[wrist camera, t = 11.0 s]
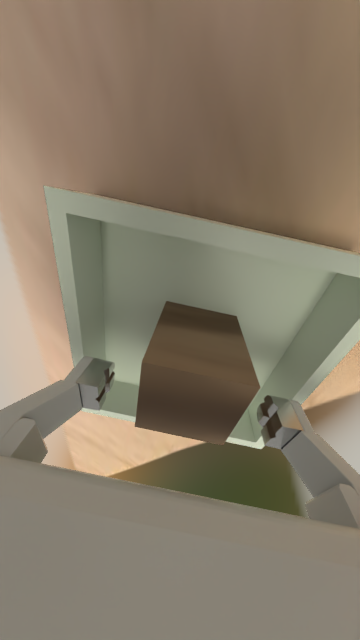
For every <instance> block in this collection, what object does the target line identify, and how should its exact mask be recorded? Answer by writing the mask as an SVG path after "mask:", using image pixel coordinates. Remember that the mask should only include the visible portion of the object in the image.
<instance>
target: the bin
mask: <svg viewBox="0 0 360 640" xmlns="http://www.w3.org/2000/svg"><path fill="white" fill-rule="evenodd" d="M43 187H44V193H45V198H46V204H47V210H48V216H49V222H50V228H51V234H52V240H53V246H54V252H55V258H56V264H57V270H58V275H59V281H60V287H61V293H62V299H63V305H64V311H65V317H66V323H67V329H68V335H69V341H70V347H71V352H72V358H73V364H74V367H75V366H76V365H77V364H78V362H79V361H80V360H81V359H82V358H83V357H84V356H89V357H93V358H98V359H102V360H106V361H110V362H114V363H115V368H114V370H113V371H114V373H115V378H114V382H113V385H112V388H111V390H110V391H109V392H107V393H106V399H105V401H104V403H103V405H102V407H101V409H100V411H98V410H93V409H87V408H82V409H81V411H84V412H89V413H94V414H98V415H103V416H108V417H112V418H117V419H122V420H127V421H131V422H135V420H136V411H137V402H138V392H139V383H140V373H141V364H142V360H143V358H144V355H145V353H146V350H147V348H148V345H149V343H150V340H151V338H152V335H153V333H154V330H155V328H156V325H157V323H158V320H159V318H160V315H161V313H162V310H163V308H164V305H165V303H166V301H169V302H174V303H179V304H183V305H188V306H192V307H197V308H202V309H206V310H211V311H215V312H220V313H225V314H229V315H234V316H237V319H238V322H239V325H240V328H241V331H242V334H243V337H244V340H245V343H246V346H247V349H248V352H249V355H250V358H251V361H252V364H253V367H254V370H255V373H256V376H257V379H258V381H259V384H260V387H261V388H260V389H259V391H258V392H257V394H256V395H255V397H254V398H253V400H252V401H251V403H250V404H249V406H248V408H247V409H246V411H245V412H244V414H243V415H242V417H241V418H240V420H239V421H238V423H237V425H236V426H235V428H234V429H233V431H232V432H231V434H230V435H229V437H228V438H227V440H226V441H225V442H230V443H235V444H240V445H245V446H249V447H254V448H258V449H262V448H263V447H264V442H263V438H262V434H261V429H262V426H261V425H260V424H259V423H258V419H257V409H258V406H259V405H260V404H261V403H264V402H265V401H264V398H265V397H266V396H267V395H271V396H276V397H281V398H286V399H290V400H295V401H298V402H299V403H300V405H301V404H302V403H303V402H304V401H305V400H306V399H307V398H308V397H309V395H310V394H311V393H312V392H313V391H314V390H315V389H316V388H317V387H318V385H319V384H320V383H321V382H322V381H323V380H324V379H325V378H326V377H327V375H328V374H329V373H330V372H331V371H332V370H333V369H334V368H335V367H336V365H337V364H338V363H339V362H340V361H341V360H342V359H343V358H344V357H345V356H346V354H347V353H348V352H349V351H350V350H351V349H352V348H353V347H354V346H355V344H356V343H357V342H358V341H359V340H360V253H356V252H352V251H348V250H343V249H339V248H334V247H330V246H325V245H321V244H316V243H312V242H307V241H303V240H298V239H294V238H289V237H285V236H280V235H276V234H271V233H267V232H262V231H258V230H253V229H249V228H244V227H240V226H235V225H231V224H226V223H222V222H217V221H213V220H208V219H204V218H199V217H195V216H190V215H186V214H181V213H177V212H172V211H168V210H163V209H159V208H154V207H150V206H145V205H141V204H136V203H132V202H127V201H123V200H118V199H114V198H109V197H105V196H100V195H96V194H90V193H85V192H79V191H73V190H67V189H61V188H55V187H49V186H43Z"/></svg>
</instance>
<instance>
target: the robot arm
mask: <svg viewBox="0 0 360 640" xmlns="http://www.w3.org/2000/svg"><path fill="white" fill-rule="evenodd" d="M114 368H115V363H114V362H110V361H106V360H102V359H98V358H93V357H89V356H84V357H83V358H82V359H81V360H80V361H79V362H78V364H77V365H76V366H75V367H74V368H73V370H72V371H71V372H70V373H69V375H68V376H67V377H66V378H65V380H64V381H63V380H60V381H58V382H56V383H54V384H52V385H50V386H48V387H46V388H44V389H42V390H40V391H38V392H36V393H34V394H32V395H30V396H28V397H26V398H24V399H22V400H20V401H18V402H16V403H14V404H12V405H10V406H8V407H6V408H4V409H2V410H0V640H360V475H359V474H358V473H357V472H356V471H355V470H354V469H353V468H352V467H351V466H350V465H349V464H348V463H347V462H346V461H345V460H344V459H343V458H342V457H341V456H340V455H339V454H338V453H337V452H336V451H335V450H334V449H333V448H332V447H331V446H330V445H328V443H327V442H326V441H324V440H323V439H322V438H321V437H320V436H319V435H318V434H315V432H314V430H313V428H312V426H311V425H310V422H309V421H308V419H307V417H306V415H305V413H304V411H303V409H302V407H301V405H300V403H299V402H298V401H295V400H290V399H286V398H281V397H276V396H271V395H267V396H266V397H265V398H264V401H265V402H264V403H261V404H260V405H259V406H258V409H257V419H258V423H259V424H260V425H261V426H262V429H261V434H262V438H263V442H264V445H265V446H269V447H274V448H278V449H282V450H281V451H282V452H283V454H284V455H285V457H286V458H287V460H288V461H289V462H290V464H291V465H292V467H293V468H294V470H295V471H296V472H297V474H298V475H299V477H300V478H301V480H302V481H303V483H304V484H305V485H306V487H307V488H308V489H309V491H310V492H311V494H312V495H313V497H314V498H313V499H311V500H309V501H307V502H306V504H305V507H306V509H307V512H308V515H309V518H310V519H309V518H305V517H300V516H295V515H290V514H285V513H280V512H275V511H270V510H265V509H261V508H256V507H251V506H246V505H241V504H236V503H232V502H227V501H221V500H217V499H212V498H207V497H202V496H197V495H192V494H187V493H183V492H178V491H173V490H168V489H163V488H158V487H153V486H149V485H144V484H139V483H134V482H129V481H124V480H120V479H115V478H110V477H105V476H100V475H95V474H90V473H85V472H81V471H76V470H71V469H66V468H61V467H56V466H51V465H46V464H42V463H41V462H42V460H43V459H44V457H45V456H46V454H47V452H48V451H47V447H46V445H45V442H44V440H43V439H44V438H45V437H46V436H47V435H49V434H50V433H51V432H53V431H54V430H55V429H57V428H58V427H59V426H61V425H62V424H63V423H64V422H66V421H67V420H68V419H70V418H71V417H72V416H74V415H75V414H76V413H78V412H79V411H80V410H81V409H82V408H87V409H93V410H98V411H100V409H101V407H102V405H103V403H104V401H105V399H106V393H107V392H109V391H110V390H111V388H112V385H113V382H114V378H115V373H114V371H113V370H114Z"/></svg>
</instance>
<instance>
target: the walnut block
mask: <svg viewBox="0 0 360 640" xmlns="http://www.w3.org/2000/svg"><path fill="white" fill-rule="evenodd" d="M260 388H261V387H260V384H259V381H258V379H257V376H256V373H255V370H254V367H253V364H252V361H251V358H250V355H249V352H248V349H247V346H246V343H245V340H244V337H243V334H242V331H241V328H240V325H239V322H238V319H237V316H234V315H229V314H225V313H220V312H215V311H211V310H206V309H202V308H197V307H192V306H188V305H183V304H179V303H174V302H169V301H166V303H165V305H164V308H163V310H162V313H161V315H160V318H159V320H158V323H157V325H156V328H155V330H154V333H153V335H152V338H151V340H150V343H149V345H148V348H147V350H146V353H145V355H144V358H143V360H142V364H141V373H140V383H139V392H138V402H137V411H136V420H135V427H139V428H144V429H149V430H153V431H158V432H163V433H168V434H172V435H177V436H182V437H186V438H191V439H196V440H201V441H205V442H211V443H215V444H219V445H224V443H225V441H226V440H227V438H228V437H229V435H230V434H231V432H232V431H233V429H234V428H235V426H236V425H237V423H238V421H239V420H240V418H241V417H242V415H243V414H244V412H245V411H246V409H247V408H248V406H249V404H250V403H251V401H252V400H253V398H254V397H255V395H256V394H257V392H258V391H259V389H260Z"/></svg>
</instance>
